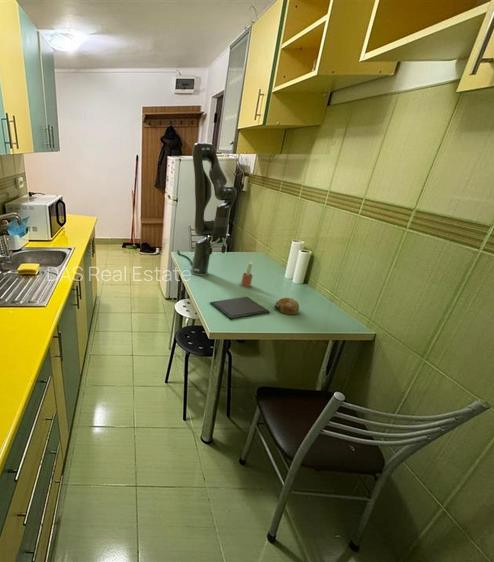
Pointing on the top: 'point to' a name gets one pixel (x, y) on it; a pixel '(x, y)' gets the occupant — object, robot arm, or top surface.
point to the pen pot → (246, 280)
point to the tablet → (239, 308)
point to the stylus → (249, 269)
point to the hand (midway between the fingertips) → (216, 253)
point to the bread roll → (287, 306)
